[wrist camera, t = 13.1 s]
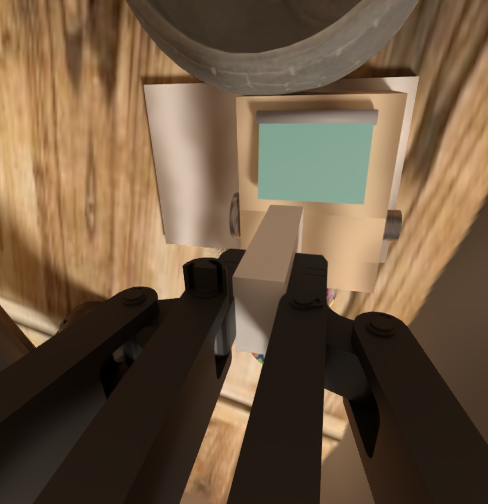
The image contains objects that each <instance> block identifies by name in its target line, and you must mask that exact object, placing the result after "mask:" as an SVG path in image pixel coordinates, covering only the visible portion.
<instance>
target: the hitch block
mask: <svg viewBox="0 0 488 504" xmlns="http://www.w3.org/2000/svg"><path fill="white" fill-rule="evenodd" d="M418 80H419V77H387V78H354V79H339V80H336V81H334V82H332V83H330V84H327V85H325V86H323V87H318V88H313V89H308V90H303V91H298V92H293V93H287V94H278V95H241V94H237V93H233V92H228V91H224V90H221V89H218V88H216V87H214V86H211V85H209V84H207V83H189V84H156V85H144V92H145V99H146V106H147V113H148V120H149V127H150V134H151V141H152V148H153V155H154V162H155V169H156V176H157V183H158V190H159V197H160V204H161V211H162V218H163V225H164V232H165V239H166V244H176V245H188V246H199V247H210V248H222V249H230V248H231V249H243V250H247V248H248V246H249V244H250V242H251V241H252V239H253V237H254V235H255V233H256V231H257V229H258V227H259V225H260V223H261V222H262V220H263V218H264V216H265V214H266V212H267V210H268V208H269V206H270V205H286V206H304V211H303V229H302V247H301V253H305V254H317V255H323V256H324V257H325V259H326V260H327V261H328V275H327V288H331V289H341V290H350V291H359V292H368V293H374V287H375V281H376V276H377V270H378V264H379V262H381V263H385V262H386V256H387V251H388V245H389V241H386V240H383V235H384V229H385V223H386V217H387V211H388V210H395V207H396V201H397V196H398V190H399V185H400V179H401V174H402V168H403V163H404V157H405V152H406V146H407V141H408V135H409V130H410V124H411V119H412V113H413V107H414V102H415V96H416V91H417V85H418ZM371 109H378V120H377V125H374V126H373V134H372V142H371V150H370V158H369V166H368V174H367V182H366V190H365V198H364V204H346V203H326V202H307V201H287V200H268V199H258V161H259V125H257V124H256V113H257V111H272V110H371ZM236 192H239V204H240V233H241V239H237V238H233V237H232V236H231V233H230V226H229V214H230V206H231V201H232V198H233V195H234V194H235V193H236Z"/></svg>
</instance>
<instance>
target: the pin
mask: <svg viewBox="0 0 488 504" xmlns="http://www.w3.org/2000/svg"><path fill="white" fill-rule="evenodd" d="M401 224H402V214H401V211H400V210H388V211H387V217H386V223H385V229H384V235H383V240H386V241H398V239H399V236H400V231H401ZM229 226H230V233H231V236H232V237H233V238H237V239H241V233H240V204H239V192H236V193H235V194H234V195H233V198H232V201H231V206H230V214H229Z"/></svg>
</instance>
